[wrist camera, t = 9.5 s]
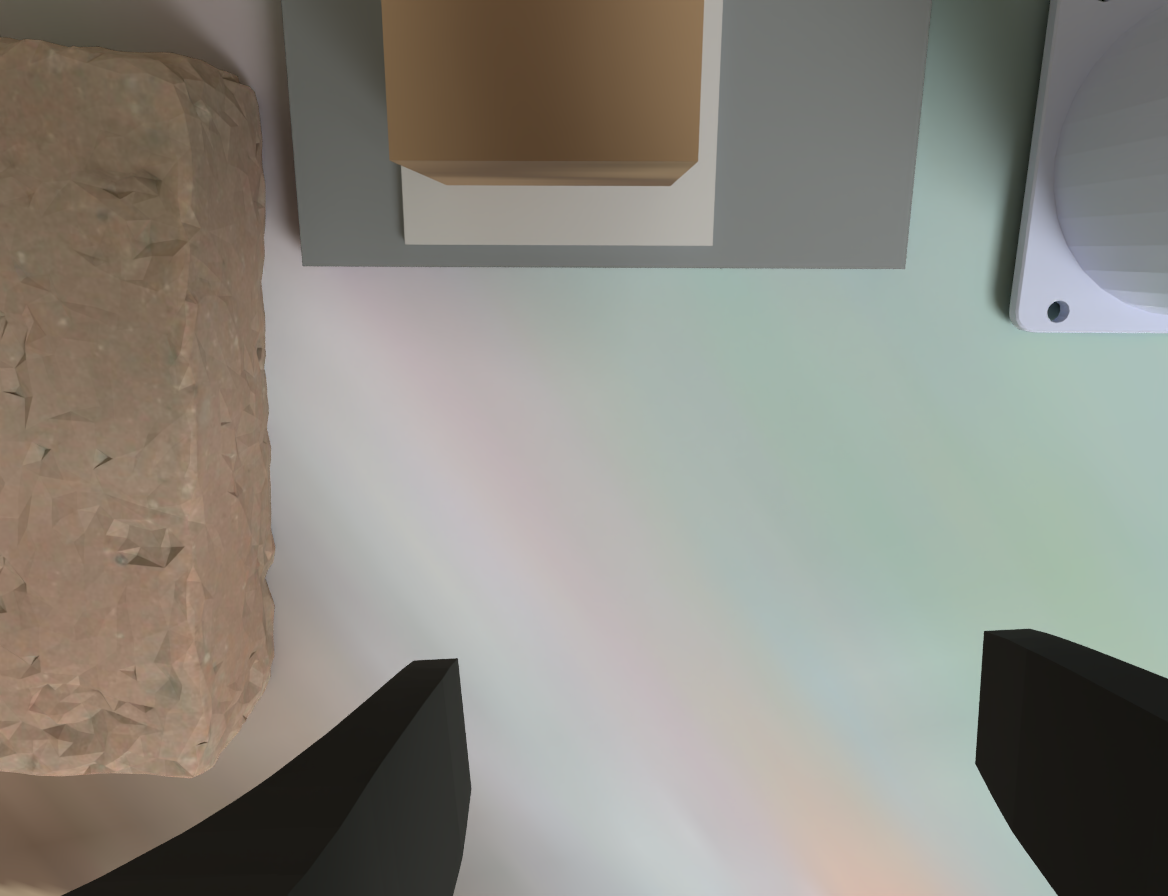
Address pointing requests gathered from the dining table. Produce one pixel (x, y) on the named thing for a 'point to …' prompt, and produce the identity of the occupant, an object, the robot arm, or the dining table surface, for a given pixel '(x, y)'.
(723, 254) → the board
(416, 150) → the walnut block
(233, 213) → the brick
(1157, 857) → the robot arm
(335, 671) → the dining table surface
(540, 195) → the pad
